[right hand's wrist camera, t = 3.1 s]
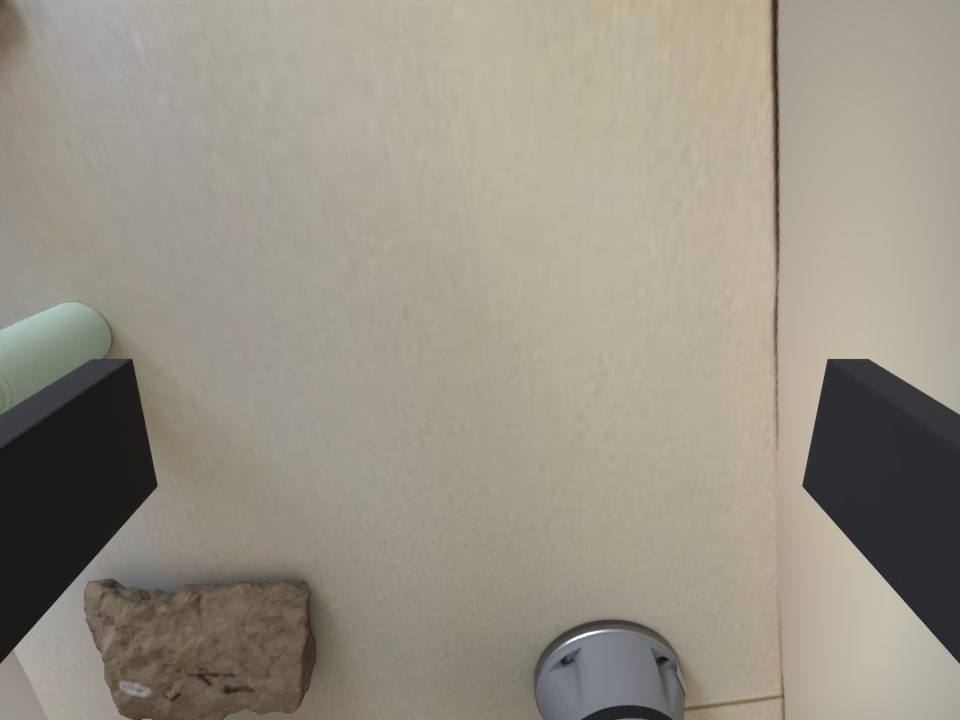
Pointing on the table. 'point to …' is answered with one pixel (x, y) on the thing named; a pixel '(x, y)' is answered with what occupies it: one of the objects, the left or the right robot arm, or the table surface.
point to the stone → (203, 648)
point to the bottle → (48, 349)
